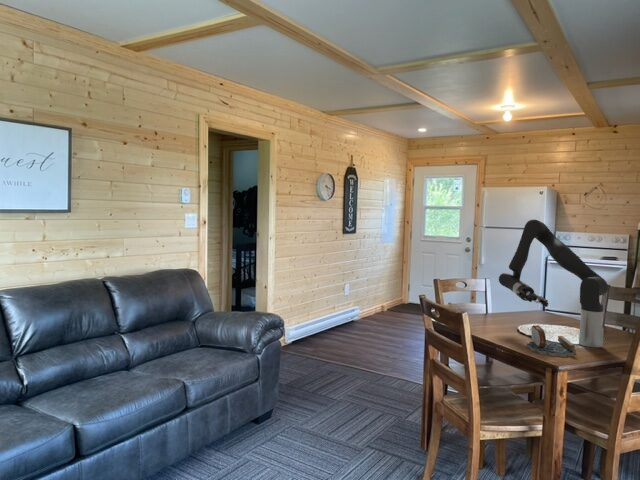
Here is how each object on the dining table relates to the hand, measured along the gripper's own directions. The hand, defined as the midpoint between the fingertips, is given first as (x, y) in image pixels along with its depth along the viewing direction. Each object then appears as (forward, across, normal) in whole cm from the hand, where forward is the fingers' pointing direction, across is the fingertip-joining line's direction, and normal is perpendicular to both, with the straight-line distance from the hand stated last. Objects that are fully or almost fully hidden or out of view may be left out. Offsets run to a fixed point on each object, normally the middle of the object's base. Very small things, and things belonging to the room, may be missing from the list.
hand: (539, 302), depth 225 cm
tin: (+11, +1, +17) cm, 21 cm away
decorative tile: (+14, +6, +18) cm, 24 cm away
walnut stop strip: (+14, +12, +13) cm, 22 cm away
